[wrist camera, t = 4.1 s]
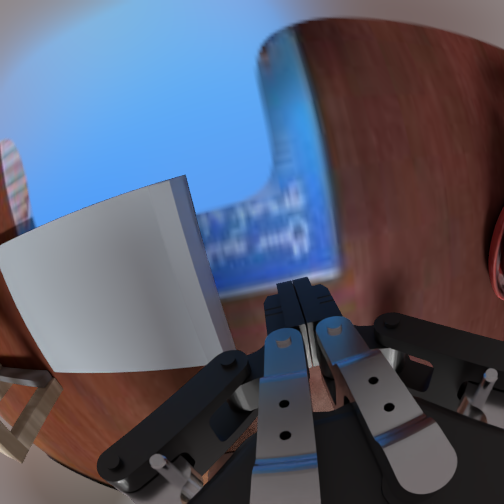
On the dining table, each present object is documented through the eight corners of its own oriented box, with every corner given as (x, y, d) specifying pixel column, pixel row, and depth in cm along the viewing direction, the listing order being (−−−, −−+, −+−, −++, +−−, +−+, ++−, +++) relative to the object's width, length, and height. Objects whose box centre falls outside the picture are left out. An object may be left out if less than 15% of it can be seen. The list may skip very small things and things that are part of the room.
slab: (185, 174, 17) (169, 180, 13) (237, 351, 22) (236, 386, 18) (1, 244, 18) (-26, 259, 14) (59, 365, 23) (43, 388, 19)
